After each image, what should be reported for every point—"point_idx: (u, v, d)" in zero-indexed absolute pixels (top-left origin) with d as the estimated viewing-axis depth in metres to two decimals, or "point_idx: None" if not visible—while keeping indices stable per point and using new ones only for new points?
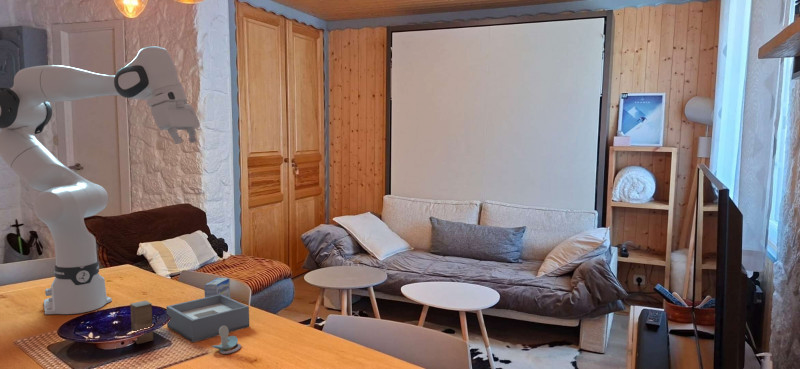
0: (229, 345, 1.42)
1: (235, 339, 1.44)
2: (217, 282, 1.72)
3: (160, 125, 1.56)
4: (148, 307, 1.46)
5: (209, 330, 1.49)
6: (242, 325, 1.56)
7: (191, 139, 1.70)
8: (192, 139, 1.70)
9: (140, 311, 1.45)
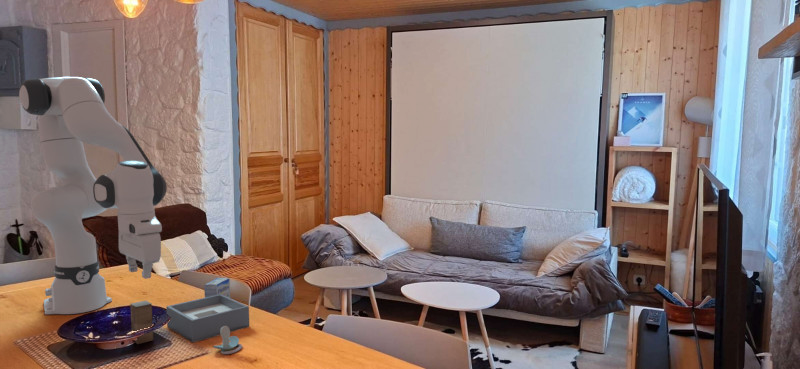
0: (230, 345, 1.41)
1: (236, 339, 1.43)
2: (217, 282, 1.72)
3: (150, 259, 1.38)
4: (148, 307, 1.46)
5: (209, 330, 1.49)
6: (242, 325, 1.56)
7: (133, 268, 1.48)
8: (134, 268, 1.49)
9: (140, 311, 1.45)
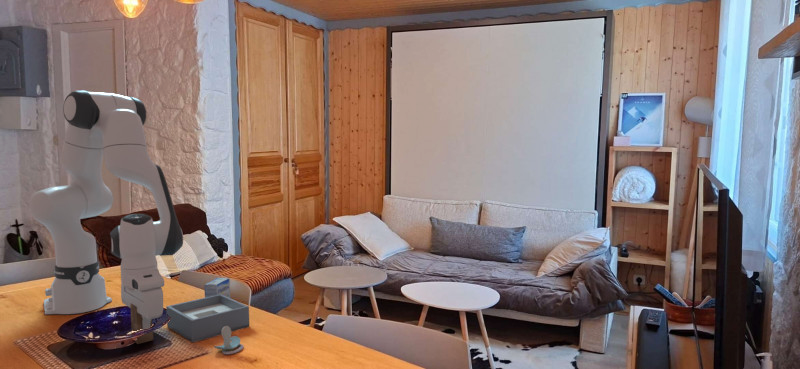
0: (232, 345, 1.41)
1: (237, 339, 1.43)
2: (217, 282, 1.72)
3: (152, 315, 1.39)
4: None
5: (209, 330, 1.49)
6: (242, 325, 1.56)
7: None
8: None
9: None
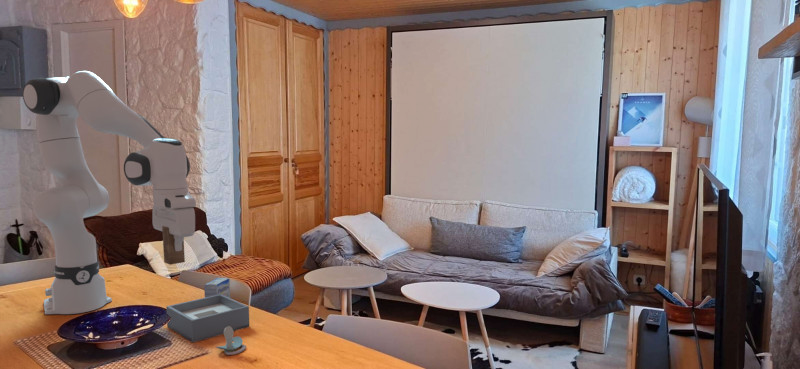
0: (234, 346, 1.41)
1: (240, 340, 1.43)
2: (217, 282, 1.72)
3: (185, 232, 1.42)
4: None
5: (209, 330, 1.49)
6: (242, 325, 1.56)
7: None
8: None
9: None
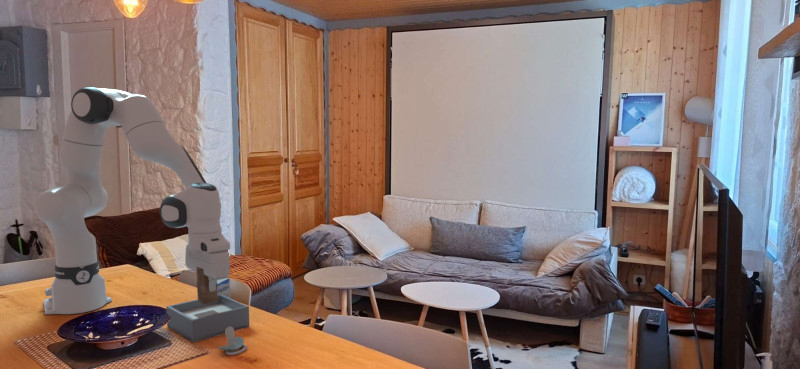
0: (235, 346, 1.41)
1: (241, 340, 1.43)
2: (217, 282, 1.72)
3: (220, 275, 1.48)
4: None
5: (209, 330, 1.49)
6: (242, 325, 1.56)
7: None
8: None
9: None
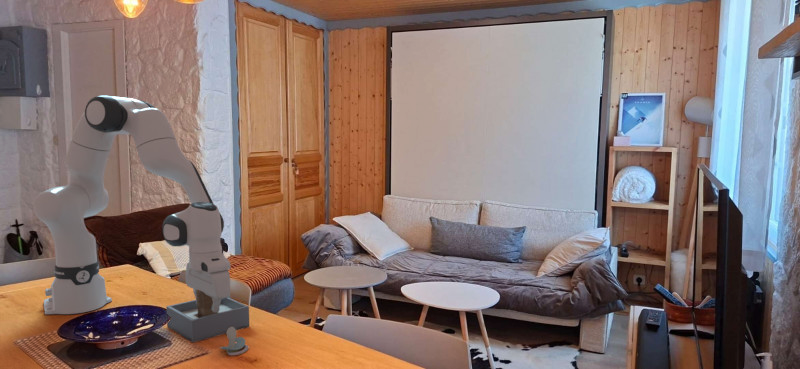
0: (237, 346, 1.41)
1: (243, 340, 1.43)
2: None
3: (221, 295, 1.49)
4: None
5: (209, 330, 1.49)
6: (242, 325, 1.56)
7: None
8: None
9: (207, 296, 1.55)
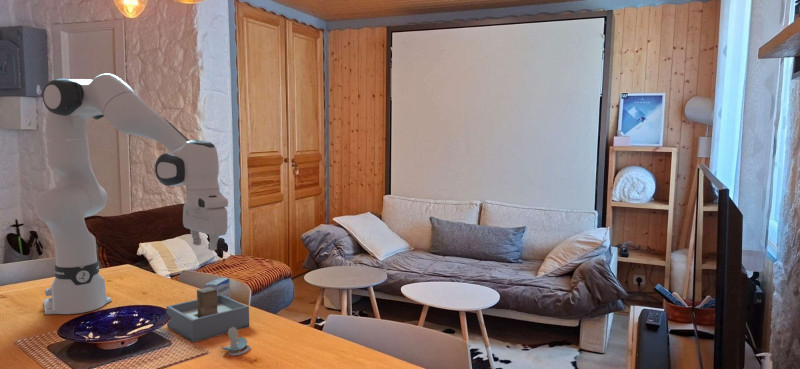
0: (238, 347, 1.41)
1: (244, 341, 1.43)
2: (217, 282, 1.72)
3: (218, 232, 1.47)
4: (213, 293, 1.56)
5: (209, 330, 1.49)
6: (242, 325, 1.56)
7: (197, 241, 1.58)
8: (198, 241, 1.58)
9: (207, 296, 1.55)
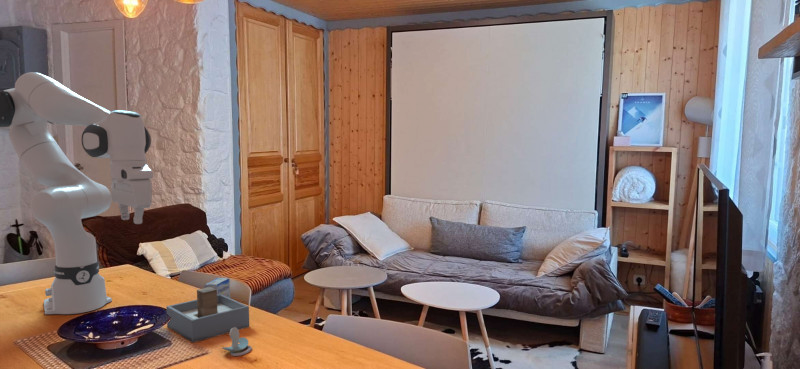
0: (240, 347, 1.40)
1: (246, 341, 1.42)
2: (217, 282, 1.72)
3: (141, 204, 1.42)
4: (213, 293, 1.56)
5: (209, 330, 1.49)
6: (242, 325, 1.56)
7: (125, 216, 1.53)
8: (127, 216, 1.53)
9: (207, 296, 1.55)
